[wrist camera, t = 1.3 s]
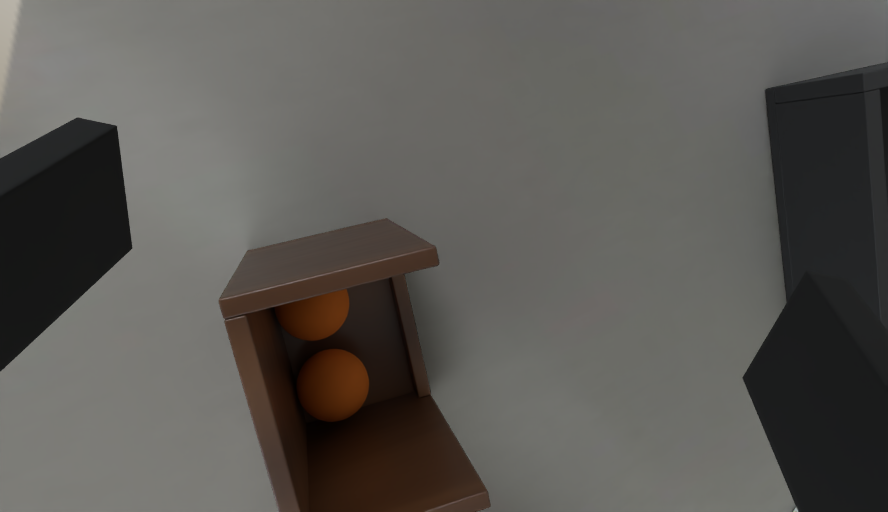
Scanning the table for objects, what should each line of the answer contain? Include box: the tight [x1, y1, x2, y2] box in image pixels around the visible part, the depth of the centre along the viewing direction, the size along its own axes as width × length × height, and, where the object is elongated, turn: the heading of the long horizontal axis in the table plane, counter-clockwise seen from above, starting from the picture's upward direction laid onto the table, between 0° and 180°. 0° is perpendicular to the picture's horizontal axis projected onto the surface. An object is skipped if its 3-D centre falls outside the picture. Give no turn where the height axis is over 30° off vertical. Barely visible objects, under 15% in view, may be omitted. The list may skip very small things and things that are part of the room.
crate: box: [219, 218, 491, 512], centre depth 23 cm, size 9×6×10 cm
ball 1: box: [274, 289, 349, 341], centre depth 25 cm, size 3×3×3 cm
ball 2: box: [296, 349, 369, 422], centre depth 26 cm, size 3×3×3 cm
